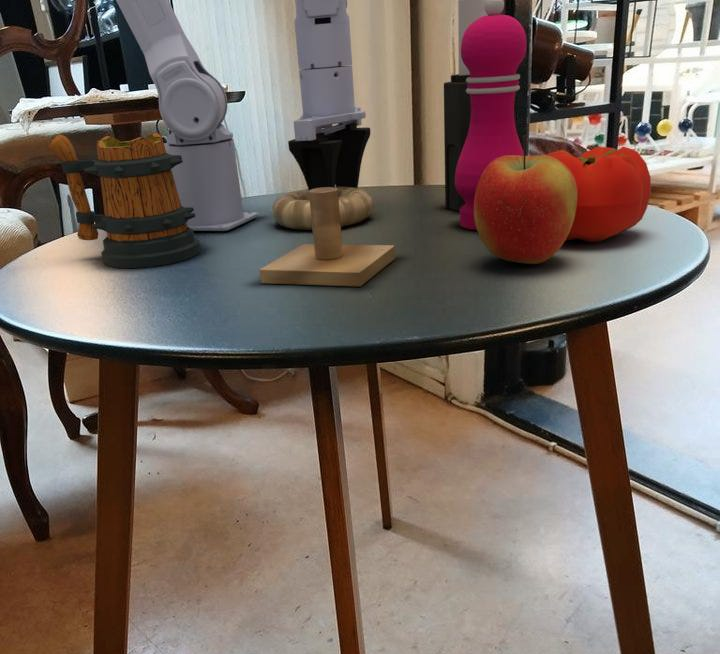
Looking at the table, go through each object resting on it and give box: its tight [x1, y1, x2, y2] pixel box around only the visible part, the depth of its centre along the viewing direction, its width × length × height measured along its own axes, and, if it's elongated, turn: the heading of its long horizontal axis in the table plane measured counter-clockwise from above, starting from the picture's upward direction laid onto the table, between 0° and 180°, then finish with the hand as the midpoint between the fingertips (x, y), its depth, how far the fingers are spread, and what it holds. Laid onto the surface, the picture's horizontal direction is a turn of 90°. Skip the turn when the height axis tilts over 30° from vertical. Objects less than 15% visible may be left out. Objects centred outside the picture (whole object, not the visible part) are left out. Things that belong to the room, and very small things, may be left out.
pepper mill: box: [455, 0, 528, 231], centre depth 74 cm, size 7×7×20 cm
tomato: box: [546, 146, 652, 243], centre depth 70 cm, size 11×11×8 cm
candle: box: [443, 0, 487, 213], centre depth 81 cm, size 5×5×25 cm
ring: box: [271, 186, 374, 231], centre depth 85 cm, size 11×11×3 cm
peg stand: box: [259, 187, 396, 288], centre depth 65 cm, size 9×9×7 cm
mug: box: [48, 132, 201, 269], centre depth 74 cm, size 13×10×12 cm
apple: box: [474, 134, 577, 265], centre depth 62 cm, size 8×8×10 cm
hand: (336, 201), depth 88 cm, fingers open, 7 cm apart
